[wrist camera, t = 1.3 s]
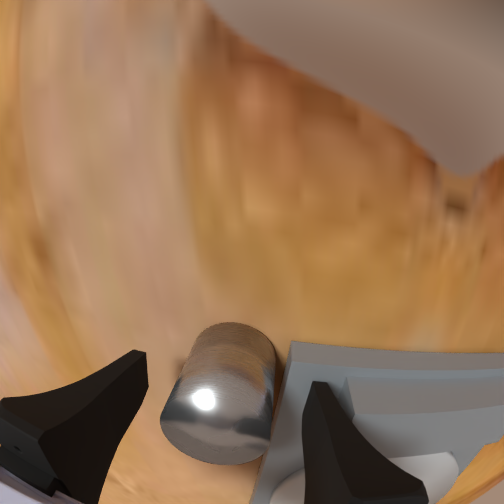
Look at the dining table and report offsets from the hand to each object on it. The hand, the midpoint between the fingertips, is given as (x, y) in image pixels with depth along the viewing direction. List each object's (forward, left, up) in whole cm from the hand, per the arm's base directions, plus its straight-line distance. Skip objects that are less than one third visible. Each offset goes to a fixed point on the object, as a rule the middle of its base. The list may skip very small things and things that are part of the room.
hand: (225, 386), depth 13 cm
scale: (-10, +8, -2) cm, 13 cm away
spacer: (0, 0, -2) cm, 2 cm away
